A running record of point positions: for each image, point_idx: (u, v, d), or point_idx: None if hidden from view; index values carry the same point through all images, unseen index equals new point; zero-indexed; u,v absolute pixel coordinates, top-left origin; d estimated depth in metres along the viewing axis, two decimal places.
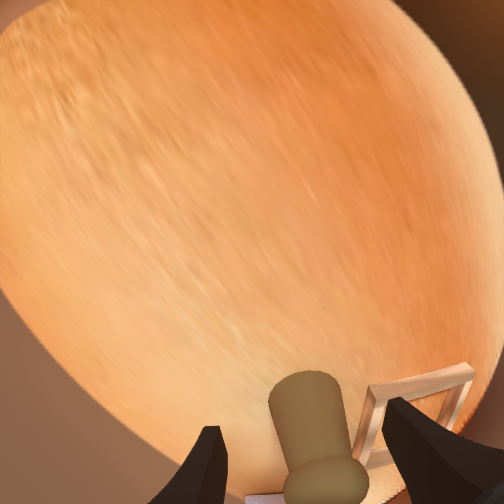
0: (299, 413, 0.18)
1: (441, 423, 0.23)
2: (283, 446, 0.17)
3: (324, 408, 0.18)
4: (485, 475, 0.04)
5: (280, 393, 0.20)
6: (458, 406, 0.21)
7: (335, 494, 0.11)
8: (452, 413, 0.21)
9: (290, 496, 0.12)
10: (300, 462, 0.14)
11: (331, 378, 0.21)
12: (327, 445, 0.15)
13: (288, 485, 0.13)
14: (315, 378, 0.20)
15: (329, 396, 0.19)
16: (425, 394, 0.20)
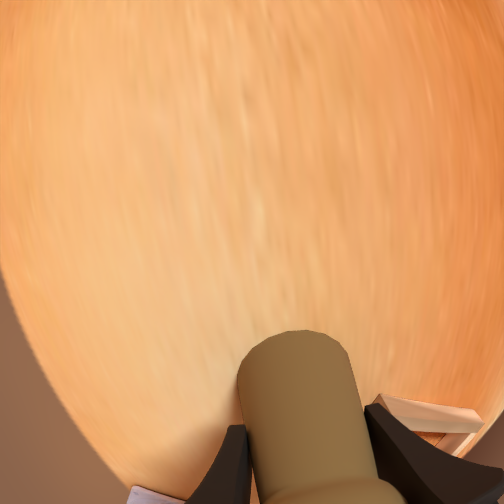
0: (311, 390, 0.10)
1: None
2: (262, 441, 0.09)
3: (350, 395, 0.10)
4: (457, 491, 0.04)
5: (276, 351, 0.13)
6: None
7: None
8: None
9: None
10: (306, 481, 0.06)
11: None
12: (359, 458, 0.07)
13: None
14: (334, 348, 0.13)
15: (352, 382, 0.11)
16: (436, 430, 0.14)
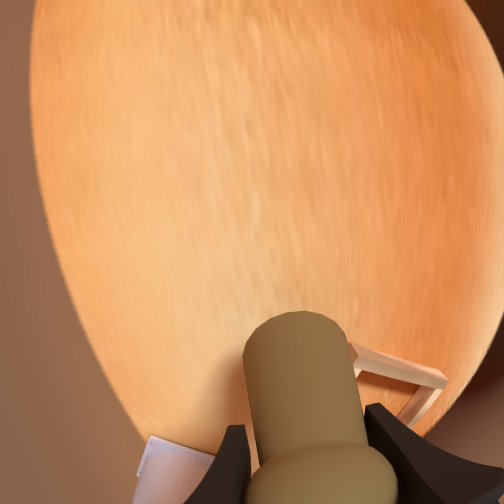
0: (305, 364, 0.11)
1: None
2: (261, 411, 0.10)
3: (342, 369, 0.12)
4: (458, 490, 0.04)
5: (275, 330, 0.14)
6: (418, 416, 0.21)
7: None
8: (409, 422, 0.21)
9: None
10: (297, 445, 0.08)
11: (346, 339, 0.15)
12: (347, 425, 0.09)
13: (268, 480, 0.07)
14: (330, 327, 0.14)
15: (346, 358, 0.13)
16: (401, 378, 0.20)
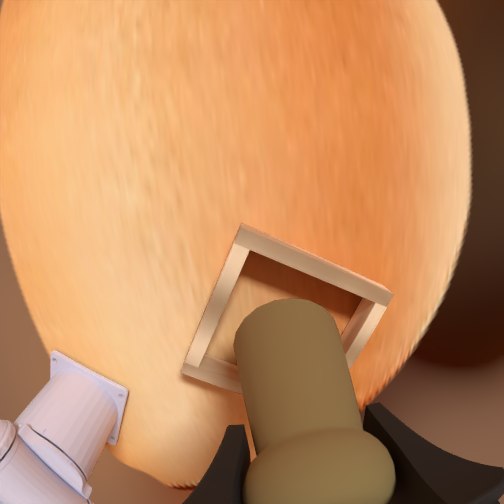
0: (294, 351, 0.12)
1: None
2: (254, 400, 0.11)
3: (332, 354, 0.12)
4: (458, 490, 0.04)
5: (264, 319, 0.14)
6: (357, 345, 0.19)
7: (358, 502, 0.05)
8: (345, 353, 0.19)
9: (267, 493, 0.06)
10: (291, 432, 0.08)
11: (335, 323, 0.15)
12: (340, 411, 0.09)
13: (265, 470, 0.07)
14: (318, 313, 0.15)
15: (336, 342, 0.13)
16: (312, 273, 0.18)
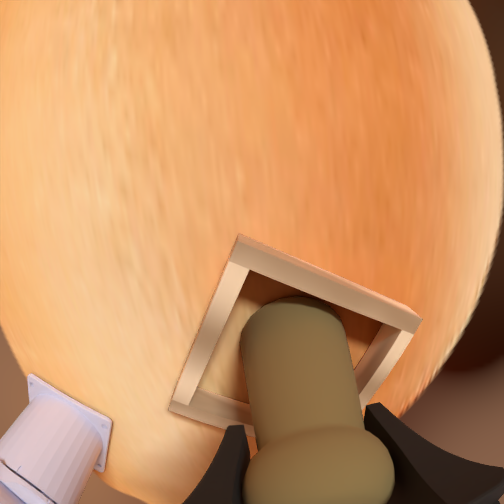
0: (299, 349, 0.12)
1: None
2: (258, 397, 0.11)
3: (337, 353, 0.12)
4: (458, 490, 0.04)
5: (270, 317, 0.14)
6: (377, 378, 0.15)
7: (355, 500, 0.05)
8: (362, 388, 0.15)
9: (266, 489, 0.06)
10: (293, 429, 0.08)
11: (341, 322, 0.15)
12: (342, 409, 0.09)
13: (264, 465, 0.07)
14: (324, 311, 0.15)
15: (341, 341, 0.13)
16: (329, 297, 0.14)
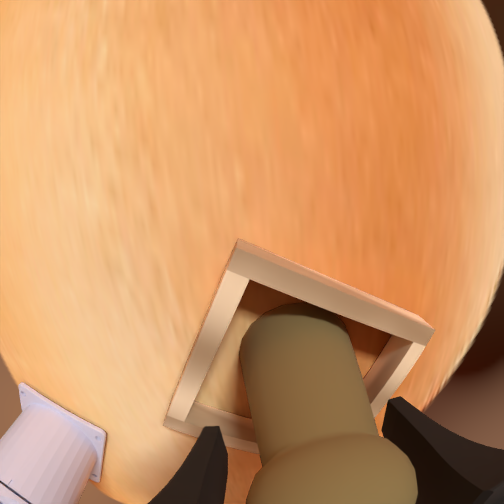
0: (305, 355, 0.11)
1: None
2: (261, 407, 0.10)
3: (345, 359, 0.11)
4: (486, 474, 0.04)
5: (272, 324, 0.13)
6: (386, 393, 0.14)
7: None
8: (370, 402, 0.14)
9: None
10: (302, 440, 0.07)
11: (346, 330, 0.15)
12: (355, 416, 0.08)
13: (272, 480, 0.06)
14: (329, 318, 0.14)
15: (348, 348, 0.12)
16: (336, 309, 0.12)
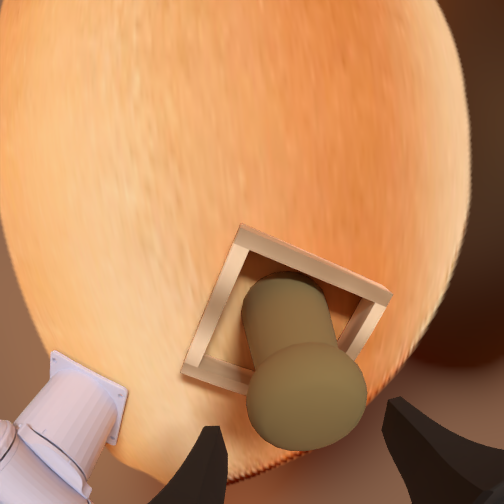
0: (288, 302, 0.16)
1: None
2: (257, 337, 0.15)
3: (317, 306, 0.16)
4: (485, 475, 0.04)
5: (265, 285, 0.19)
6: (357, 345, 0.19)
7: (333, 391, 0.10)
8: None
9: (265, 383, 0.10)
10: None
11: None
12: (320, 337, 0.13)
13: (263, 368, 0.11)
14: (308, 282, 0.19)
15: (321, 302, 0.18)
16: (312, 273, 0.18)
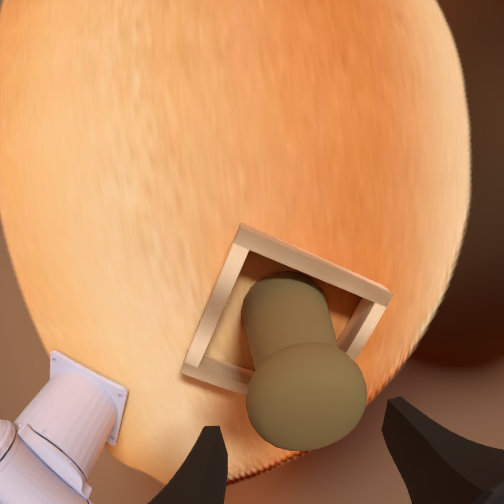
0: (288, 302, 0.16)
1: None
2: (257, 337, 0.15)
3: (317, 306, 0.16)
4: (485, 475, 0.04)
5: (265, 285, 0.19)
6: (357, 345, 0.19)
7: (332, 391, 0.10)
8: None
9: (265, 383, 0.10)
10: (283, 348, 0.13)
11: None
12: (320, 337, 0.13)
13: (263, 368, 0.11)
14: (308, 282, 0.19)
15: (321, 302, 0.18)
16: (312, 273, 0.18)
